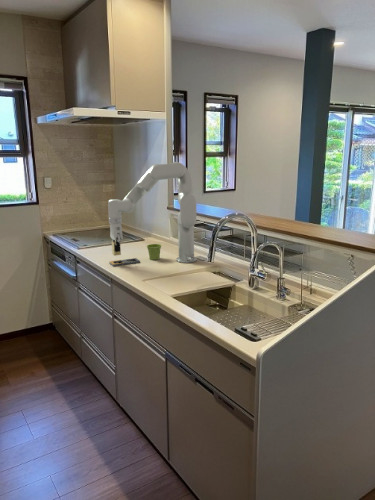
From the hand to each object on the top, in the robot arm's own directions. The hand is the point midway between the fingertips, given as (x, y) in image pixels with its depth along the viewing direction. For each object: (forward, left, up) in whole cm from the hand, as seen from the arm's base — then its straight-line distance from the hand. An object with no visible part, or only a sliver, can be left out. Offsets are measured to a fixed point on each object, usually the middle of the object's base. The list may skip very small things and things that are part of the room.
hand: (116, 250), depth 241 cm
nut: (0, 0, -3) cm, 3 cm away
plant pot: (0, -24, -9) cm, 26 cm away
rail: (0, -5, -9) cm, 10 cm away
